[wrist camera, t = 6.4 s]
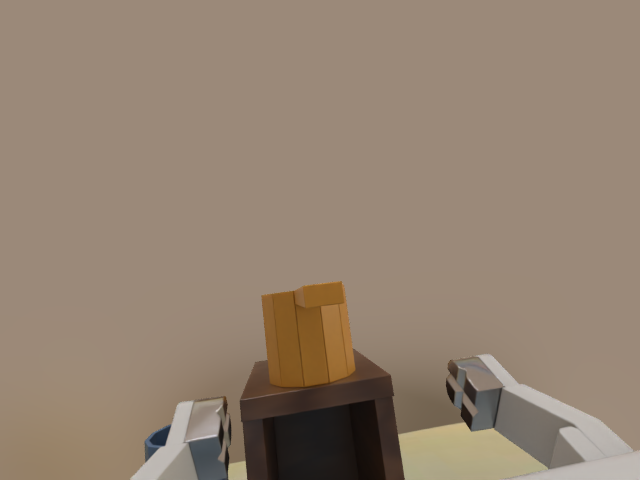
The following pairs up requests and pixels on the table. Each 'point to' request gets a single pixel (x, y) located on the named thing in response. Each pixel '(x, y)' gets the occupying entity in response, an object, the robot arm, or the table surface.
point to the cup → (308, 335)
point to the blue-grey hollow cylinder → (158, 442)
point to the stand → (322, 427)
